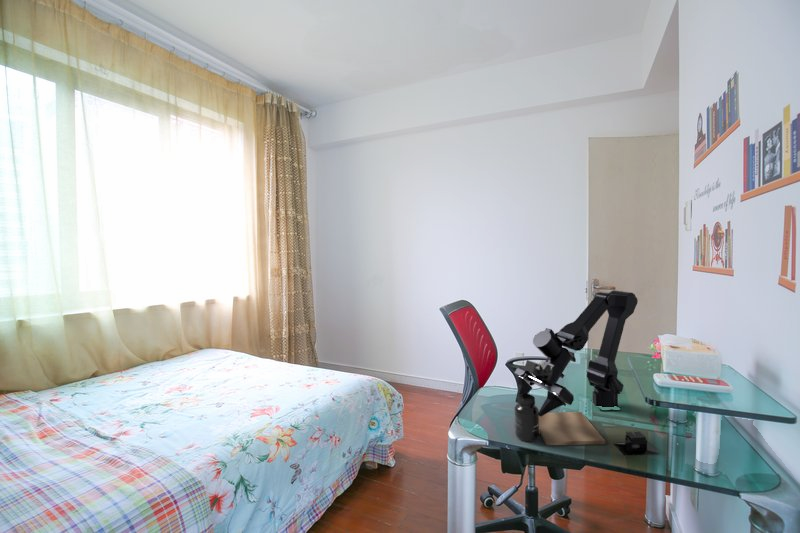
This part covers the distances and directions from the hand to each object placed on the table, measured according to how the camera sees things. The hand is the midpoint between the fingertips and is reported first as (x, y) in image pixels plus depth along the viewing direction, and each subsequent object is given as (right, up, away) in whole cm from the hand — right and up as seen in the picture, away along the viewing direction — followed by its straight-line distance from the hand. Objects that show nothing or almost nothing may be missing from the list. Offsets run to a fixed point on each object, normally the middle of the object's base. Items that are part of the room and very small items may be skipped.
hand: (527, 408), depth 109 cm
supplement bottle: (0, -8, +1) cm, 8 cm away
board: (+12, -7, +3) cm, 15 cm away
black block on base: (+27, -8, -8) cm, 29 cm away
